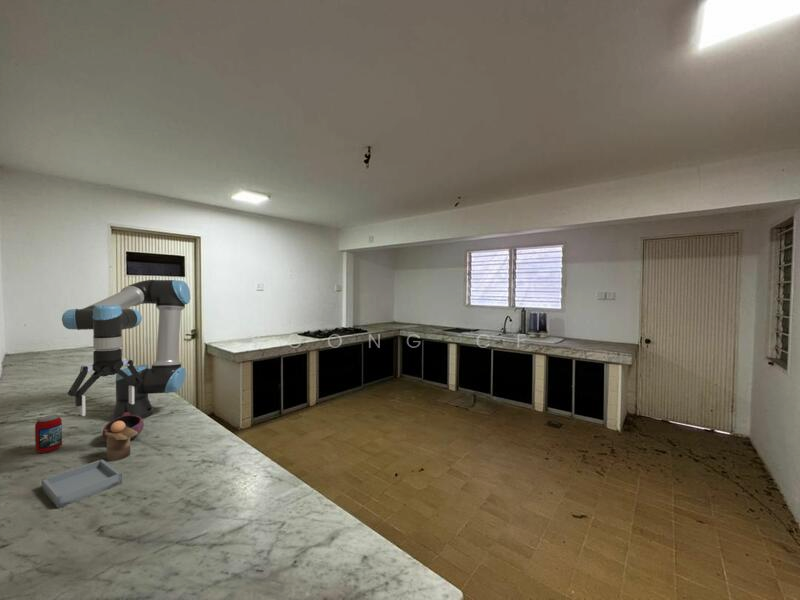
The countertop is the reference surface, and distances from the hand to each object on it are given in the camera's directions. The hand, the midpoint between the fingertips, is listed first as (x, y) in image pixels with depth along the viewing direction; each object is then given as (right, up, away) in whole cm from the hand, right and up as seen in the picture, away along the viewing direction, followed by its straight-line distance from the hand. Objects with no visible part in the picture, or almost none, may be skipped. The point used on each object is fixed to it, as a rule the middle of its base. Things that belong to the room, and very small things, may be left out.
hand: (108, 409), depth 117 cm
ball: (+2, -7, +2) cm, 7 cm away
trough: (+4, -18, +1) cm, 18 cm away
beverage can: (-27, -17, +6) cm, 32 cm away
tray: (+7, -18, -16) cm, 25 cm away
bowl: (-8, -17, +15) cm, 24 cm away
